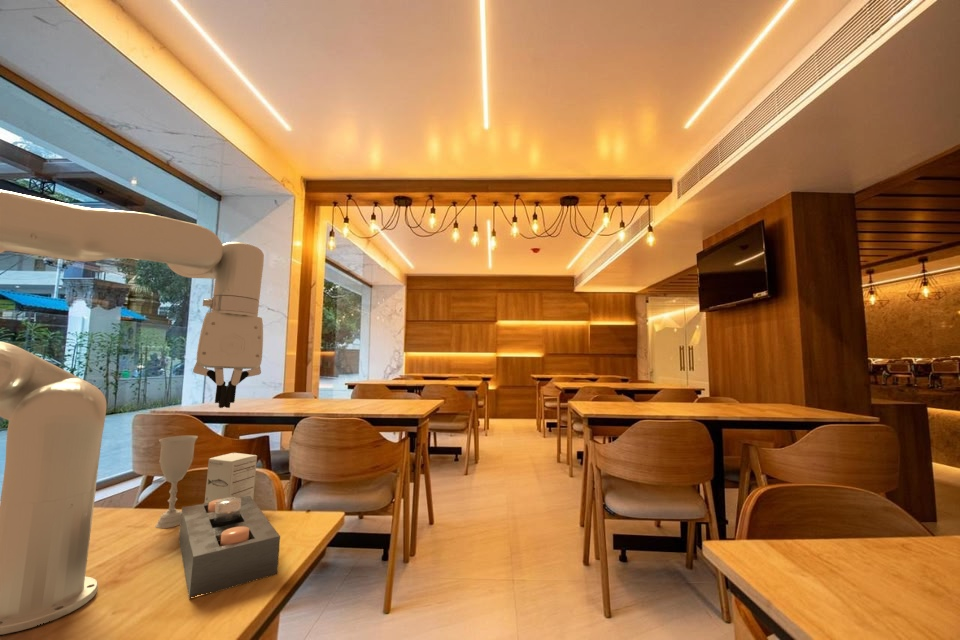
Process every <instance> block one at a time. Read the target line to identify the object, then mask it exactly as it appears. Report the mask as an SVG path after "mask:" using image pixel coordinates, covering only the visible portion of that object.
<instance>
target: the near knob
mask: <svg viewBox="0 0 960 640" xmlns="http://www.w3.org/2000/svg"><path fill="white" fill-rule="evenodd" d="M246 540H250V538H249V528H248V527H233V528H230V529H227V530H225V531H223V532H222V533H221V541H220V544H219V547H220V546H225V545H229V544H233V543H238V542H242V541H246Z"/></svg>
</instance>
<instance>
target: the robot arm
mask: <svg viewBox="0 0 960 640" xmlns="http://www.w3.org/2000/svg"><path fill="white" fill-rule="evenodd" d="M4 252H13V253H15V252H16V253H20V254H26V255H27V254H28V255H33V256H34V255H35V256H42V257H48V258H52V259H53V258H54V259H59V260H67V261H73V262H96V261H102V260H110V259H111V260H112V259H130V260H142V261H148V262H149V261H150V262H156V263H162V264H166V266H168V268H169V269H170V270H171V271H172V272H174V273H175V274H177V275H179V276H181V277H184V278H191V279H209V280H210V279H211V280H212V279H213V280H214V288H213V295H212V297H211V298H208V299H206V298H203V300H202V307H207V308H209V309H210V310H211V312H206V313H205V316H204V319H203V321H202V326H201V330H200V332H199V333H200V335H199V339H198V345H197V351H196V361H195V365H194V367H193V369H192V372H193V373H194V374H195V375H199V376H200V375H201V376H205V377H208V378H209V379H211V381H213V383H214V384H215V385H216V390H215V398H214V403H215V404H218V408H219V409H223V408H226V409H227V408H228V409H230V408H231V404H234V403H235V401H236V393H237V386H238V385H239V384H240V383H241V382H243V381H244V380H245V379H246V378H249V377H254V376H260V375H261V373H262V369H261V365H262V361H263V360H262V359H263V347H264V324H263V318H262V316H261V317H260V316H258V315H259V307H260V297H261V289H262V288H261V287H262V278H263V270H264V261H265V259H264V258H265V257H264V256H265V255H264V252H263V250H262V249H261V248H260V247H258V246H255V245H254V244H253V245H252V244H251V243H244V242H237V241H231V242H230V241H229V242H226V243H222V241H221V239H220V237H218V235H217V234H215V233H214V232H213V231H212V230H210V229H209V228H207V227H204V226H202V225H199V224H197V223H192V222H189V221H184V220H180V219H174V218H171V217H168V216H161V215H156V214H152V213H146V212H138V211H129V210H115V209H108V208H91V207H85V206H80V205H74V204H70V203H66V202H61V201H57V200H56V201H55V200H50V199H47V198H41V197H37V196H32V195H28V194H22V193H18V192H14V191H9V190H4V189H0V254H2V253H4ZM208 368H211V369H208ZM213 369H214V370H213ZM224 369H233V370H232V373H231V377H230V380H229V381H228V382H227V383H228V384H227V385H226V382H225V380H224V379H225V377H224ZM244 369H245V370H244ZM107 404H108V403H107V399H106V397H105V394H104V393H103V392H102V391H101V389H99V388H98V387H97V386H96V385H95V384H93V383H90V382H89V381H86V380H85V379H82V378H80V377H78V376H77V375H75V374H73V373H71V372H69V371H67V370H65V369H63V368H62V367H59V366H57V365H55V364H53V363H52V362H49V361H47V360H45V358H44V359H43V358H42V357H40V356H37V355H35V354H34V353H31V351H30V352H29V351H28V350H26V349H23V348H22V347H20V346H18V345H14V344H12V343H9V342H6V341H5V342H4V341H0V418H2V419H5V420H7V421H8V425H7V432H6V440H5V441H6V443H5V444H6V445H5V462H4V473H3V478H2V488H1V492H0V493H1V494H0V635H7V634H12V633H16V632H20V631H21V632H22V631H25V630H27V629H31V628H32V629H33V628H35V627H38V626H41V625H44V624H47V623H50V622H53V621H55V620H57V619H60V618H62V617H64V616H66V615H69V614H70V613H72V612H74V611H76V610H78V609H80V608H81V607H82V606H84V605H86V604H87V603H89V602H90V600H92V599H93V598H94V597H95V596H96V594H97V592H98V586H99V583H98V581H97V579H95V578H93V577H90V576H86V573H87V571H86V570H87V563H88V555H89V547H90V541H91V533H92V532H91V531H92V524H93V523H92V522H93V515H94V507H95V498H96V491H97V481H98V480H97V479H98V471H99V465H100V463H99V461H100V457H101V447H102V442H103V441H102V439H103V433H104V427H105V423H106V422H105V421H106V415H107V408H108V407H107ZM49 621H50V622H49ZM43 623H44V624H43ZM40 624H41V625H40ZM37 625H38V626H37Z"/></svg>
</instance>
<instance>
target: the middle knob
mask: <svg viewBox="0 0 960 640" xmlns="http://www.w3.org/2000/svg"><path fill="white" fill-rule="evenodd" d="M240 507H241V498H238V497H230V498H224V499H220V500H218V501H216V505H215V517H214V521H216V522H226V521H231V520H235V519H237V518H239V517H240Z"/></svg>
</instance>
